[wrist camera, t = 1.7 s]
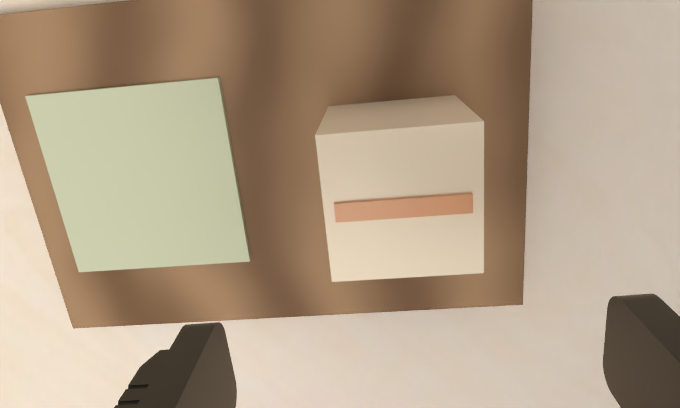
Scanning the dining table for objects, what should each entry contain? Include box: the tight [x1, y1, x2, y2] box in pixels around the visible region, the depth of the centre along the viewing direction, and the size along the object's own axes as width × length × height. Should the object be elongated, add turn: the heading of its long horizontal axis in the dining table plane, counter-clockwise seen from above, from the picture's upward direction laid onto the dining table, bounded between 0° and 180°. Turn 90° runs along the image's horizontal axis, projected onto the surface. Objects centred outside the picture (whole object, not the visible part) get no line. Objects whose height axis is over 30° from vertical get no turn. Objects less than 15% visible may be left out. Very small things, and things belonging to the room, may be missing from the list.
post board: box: [0, 0, 532, 328], centre depth 22 cm, size 24×16×6 cm, turn 95°
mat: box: [25, 77, 251, 272], centre depth 24 cm, size 9×9×1 cm
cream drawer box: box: [315, 95, 484, 282], centre depth 20 cm, size 6×6×6 cm
